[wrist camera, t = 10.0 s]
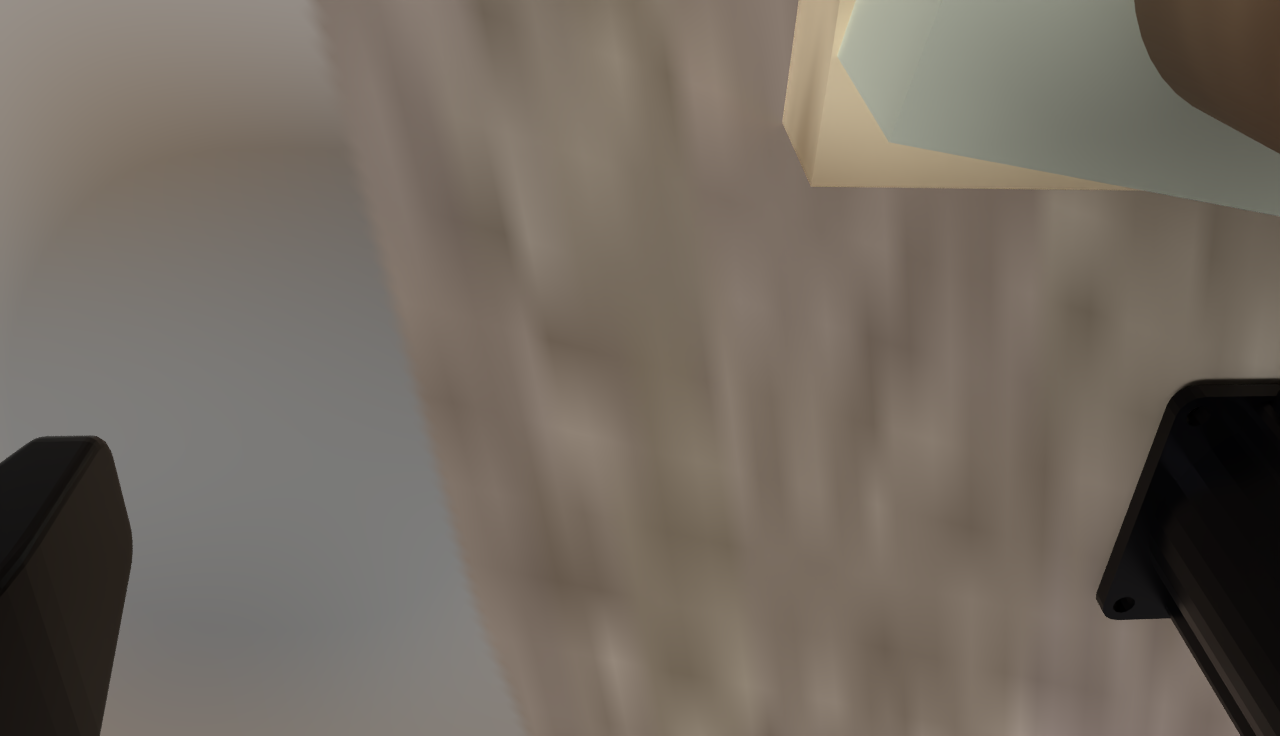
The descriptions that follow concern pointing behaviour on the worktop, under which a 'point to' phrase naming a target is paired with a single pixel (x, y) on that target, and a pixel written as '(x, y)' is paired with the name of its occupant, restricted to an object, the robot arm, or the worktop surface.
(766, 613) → the worktop surface
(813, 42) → the maple block
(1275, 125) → the brown rounded cylinder
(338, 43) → the worktop surface
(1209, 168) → the sage block
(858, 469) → the worktop surface
